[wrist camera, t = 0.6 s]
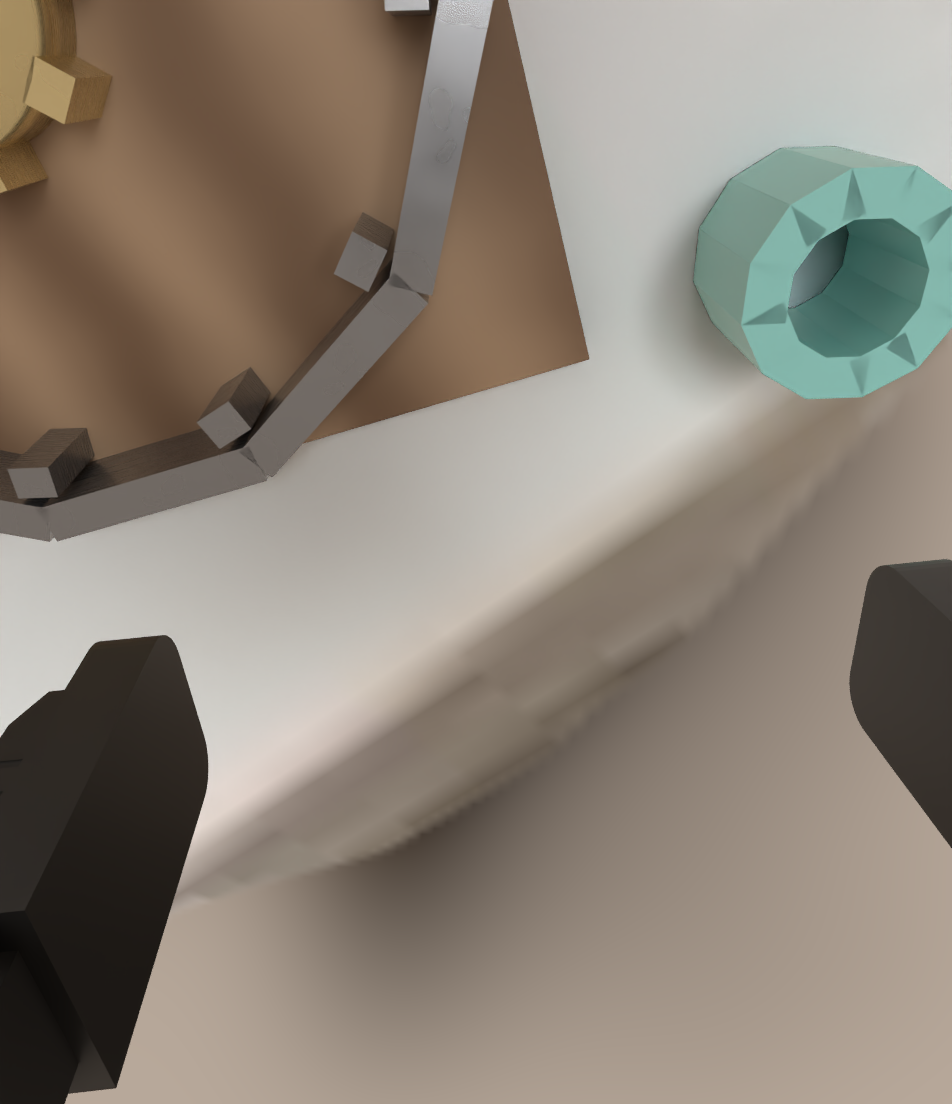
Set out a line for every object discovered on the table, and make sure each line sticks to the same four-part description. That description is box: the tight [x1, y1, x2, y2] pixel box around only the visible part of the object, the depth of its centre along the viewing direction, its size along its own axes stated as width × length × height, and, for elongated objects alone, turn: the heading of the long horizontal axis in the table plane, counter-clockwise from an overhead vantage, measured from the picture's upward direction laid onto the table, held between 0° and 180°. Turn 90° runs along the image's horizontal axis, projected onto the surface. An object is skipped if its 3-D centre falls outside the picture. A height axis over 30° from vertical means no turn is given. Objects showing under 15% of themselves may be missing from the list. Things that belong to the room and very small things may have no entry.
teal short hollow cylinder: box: [693, 146, 952, 399], centre depth 23 cm, size 6×6×5 cm
